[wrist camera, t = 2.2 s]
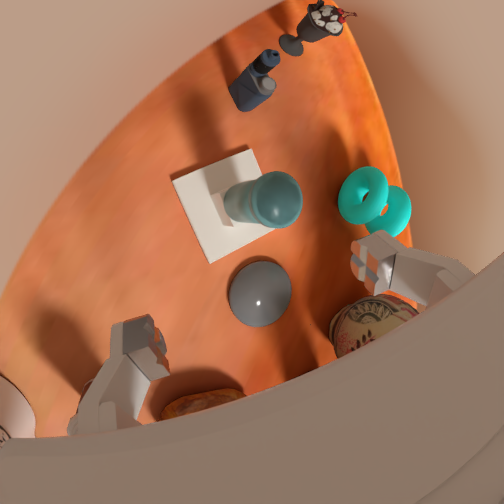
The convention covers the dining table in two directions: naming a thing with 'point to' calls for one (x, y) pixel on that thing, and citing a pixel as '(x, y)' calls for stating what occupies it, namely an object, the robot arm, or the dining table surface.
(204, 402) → the brown oval lump
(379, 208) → the donuts
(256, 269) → the dish
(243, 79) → the vaping device
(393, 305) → the ceramic jug
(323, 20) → the sundae
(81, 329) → the dining table surface
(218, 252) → the white cube on base
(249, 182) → the teal domed cylinder
